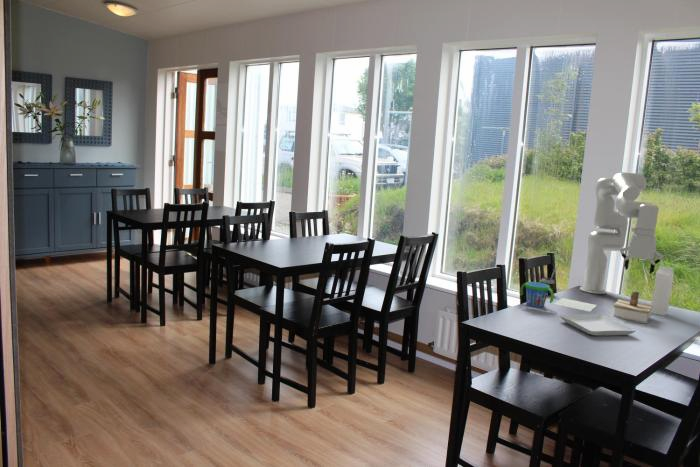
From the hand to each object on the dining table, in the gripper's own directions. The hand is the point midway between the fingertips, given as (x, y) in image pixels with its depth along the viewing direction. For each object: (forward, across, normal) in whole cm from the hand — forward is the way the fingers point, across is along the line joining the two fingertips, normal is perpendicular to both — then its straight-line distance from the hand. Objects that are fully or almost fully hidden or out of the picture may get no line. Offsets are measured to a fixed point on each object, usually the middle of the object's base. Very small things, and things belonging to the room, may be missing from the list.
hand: (638, 271), depth 258 cm
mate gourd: (+22, -40, +10) cm, 46 cm away
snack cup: (+21, -38, -18) cm, 47 cm away
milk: (+21, +9, +18) cm, 30 cm away
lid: (+16, 0, 0) cm, 16 cm away
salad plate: (+21, -9, -34) cm, 41 cm away
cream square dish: (+21, 0, -1) cm, 21 cm away
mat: (+21, -24, -1) cm, 32 cm away
